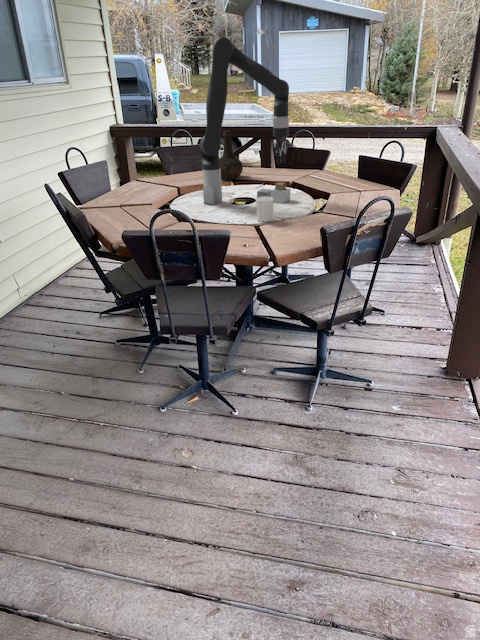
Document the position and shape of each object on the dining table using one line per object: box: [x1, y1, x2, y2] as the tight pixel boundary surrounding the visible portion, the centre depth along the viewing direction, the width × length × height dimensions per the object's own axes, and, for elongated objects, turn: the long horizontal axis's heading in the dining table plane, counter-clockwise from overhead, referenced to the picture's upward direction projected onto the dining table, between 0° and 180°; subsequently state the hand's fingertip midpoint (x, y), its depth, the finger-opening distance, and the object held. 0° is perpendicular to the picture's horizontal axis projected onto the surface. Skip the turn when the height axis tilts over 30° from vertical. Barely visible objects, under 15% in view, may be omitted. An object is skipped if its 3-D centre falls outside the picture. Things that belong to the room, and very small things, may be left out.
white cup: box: [255, 196, 274, 222], centre depth 222 cm, size 8×8×10 cm
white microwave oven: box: [270, 187, 291, 204], centre depth 251 cm, size 8×8×6 cm
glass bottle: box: [219, 130, 244, 181], centre depth 297 cm, size 18×18×28 cm
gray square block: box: [256, 188, 272, 198], centre depth 256 cm, size 6×6×4 cm
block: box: [274, 181, 287, 191], centre depth 251 cm, size 4×4×9 cm
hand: (280, 162), depth 244 cm, fingers open, 4 cm apart
